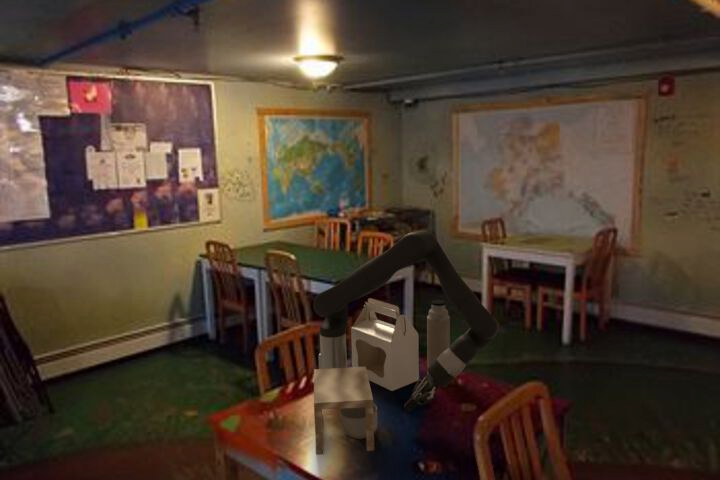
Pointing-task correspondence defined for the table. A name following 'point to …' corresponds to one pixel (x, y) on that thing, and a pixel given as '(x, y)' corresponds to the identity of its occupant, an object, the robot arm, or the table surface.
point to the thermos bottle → (437, 331)
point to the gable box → (385, 346)
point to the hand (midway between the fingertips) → (406, 408)
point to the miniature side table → (342, 398)
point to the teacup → (356, 421)
